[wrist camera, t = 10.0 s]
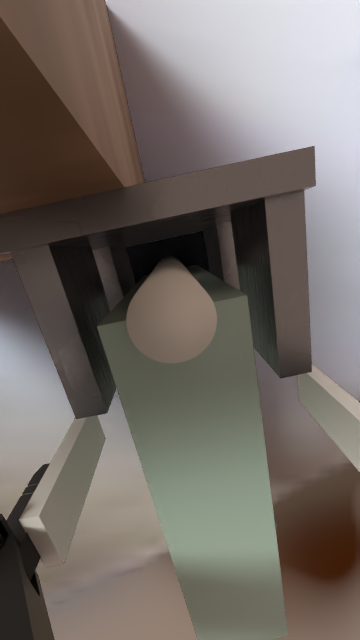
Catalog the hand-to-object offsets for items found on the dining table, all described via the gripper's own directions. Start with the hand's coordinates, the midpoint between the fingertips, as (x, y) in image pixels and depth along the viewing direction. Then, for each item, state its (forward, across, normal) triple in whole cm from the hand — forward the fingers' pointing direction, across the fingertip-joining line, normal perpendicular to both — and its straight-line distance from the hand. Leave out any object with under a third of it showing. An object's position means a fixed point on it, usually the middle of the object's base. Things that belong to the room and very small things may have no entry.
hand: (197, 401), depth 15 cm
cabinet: (+5, -9, +17) cm, 20 cm away
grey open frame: (+5, 0, +8) cm, 9 cm away
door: (+5, 0, 0) cm, 5 cm away
